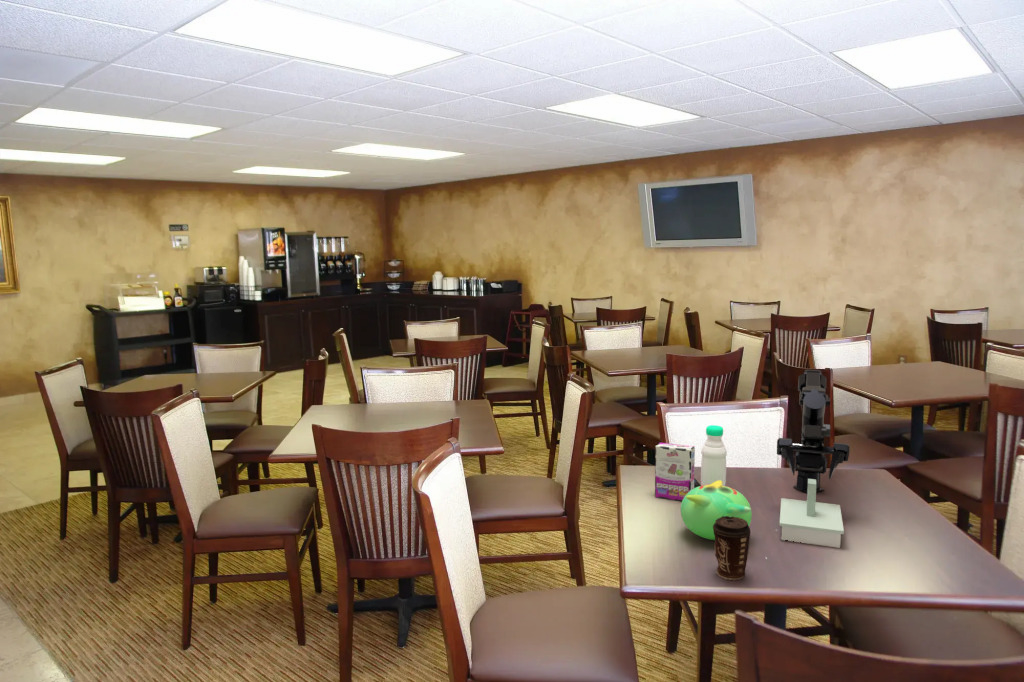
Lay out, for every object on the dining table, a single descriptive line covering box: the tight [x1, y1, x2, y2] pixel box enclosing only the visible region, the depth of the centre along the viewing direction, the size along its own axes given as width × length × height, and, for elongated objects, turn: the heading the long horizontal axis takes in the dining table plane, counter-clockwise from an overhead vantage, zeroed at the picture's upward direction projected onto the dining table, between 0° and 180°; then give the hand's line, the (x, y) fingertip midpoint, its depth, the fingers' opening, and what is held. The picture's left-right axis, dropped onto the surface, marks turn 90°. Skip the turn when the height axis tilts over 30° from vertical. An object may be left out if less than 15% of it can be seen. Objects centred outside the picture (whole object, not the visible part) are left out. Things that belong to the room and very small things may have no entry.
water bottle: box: [700, 424, 728, 486], centre depth 205 cm, size 7×7×25 cm
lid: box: [779, 479, 845, 535], centre depth 190 cm, size 15×19×11 cm
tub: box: [780, 526, 842, 549], centre depth 191 cm, size 14×18×4 cm
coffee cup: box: [713, 516, 751, 581], centre depth 166 cm, size 9×8×13 cm
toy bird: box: [680, 480, 753, 541], centre depth 186 cm, size 18×17×15 cm
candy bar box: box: [654, 442, 696, 502], centre depth 216 cm, size 11×5×16 cm, turn 62°
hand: (811, 476), depth 195 cm, fingers open, 9 cm apart
